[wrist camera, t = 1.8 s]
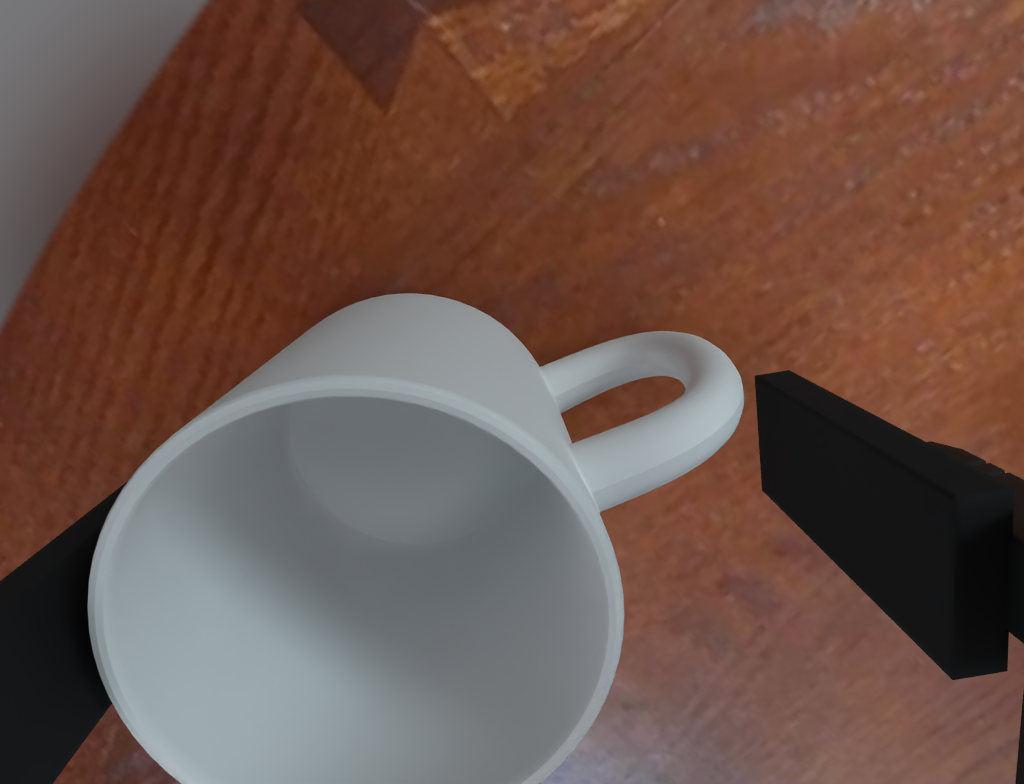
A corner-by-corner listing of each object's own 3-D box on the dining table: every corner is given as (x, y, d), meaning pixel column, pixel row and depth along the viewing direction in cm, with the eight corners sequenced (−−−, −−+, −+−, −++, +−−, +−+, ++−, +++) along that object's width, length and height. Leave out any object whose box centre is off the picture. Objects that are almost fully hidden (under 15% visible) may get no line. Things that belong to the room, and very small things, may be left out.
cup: (219, 364, 20) (-33, 526, 10) (604, 179, 19) (740, 157, 9) (359, 594, 22) (264, 911, 12) (709, 436, 21) (911, 642, 11)
